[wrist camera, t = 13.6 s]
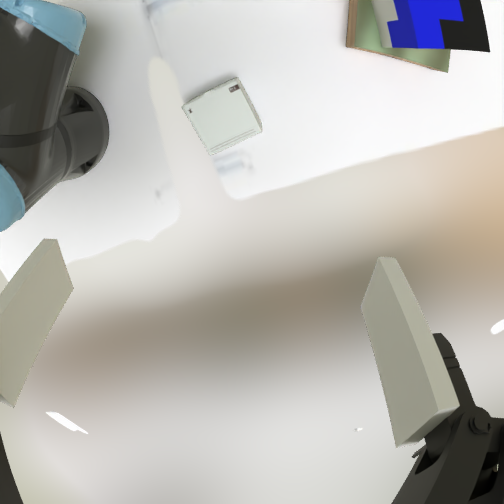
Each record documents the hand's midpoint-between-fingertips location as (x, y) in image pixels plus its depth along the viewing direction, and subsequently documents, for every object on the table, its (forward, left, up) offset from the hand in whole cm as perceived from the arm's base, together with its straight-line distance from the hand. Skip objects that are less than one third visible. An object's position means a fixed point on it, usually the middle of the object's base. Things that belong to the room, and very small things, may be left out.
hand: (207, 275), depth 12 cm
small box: (-3, 0, -35) cm, 35 cm away
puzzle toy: (+20, +18, -31) cm, 41 cm away
